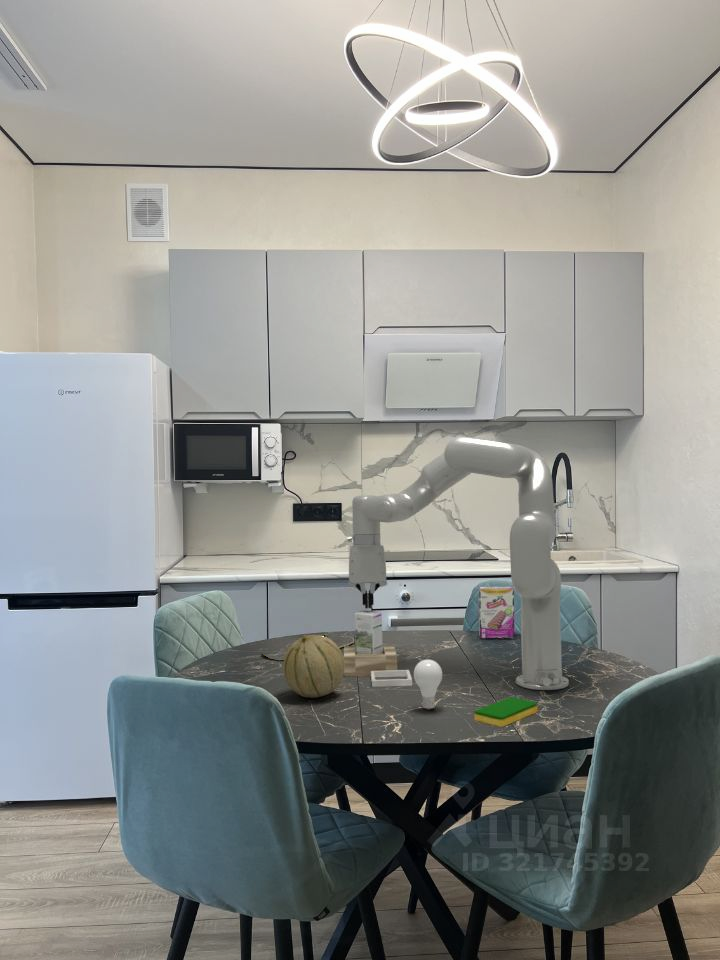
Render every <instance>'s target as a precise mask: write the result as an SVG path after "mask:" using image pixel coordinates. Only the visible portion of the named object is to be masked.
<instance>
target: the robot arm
mask: <svg viewBox="0 0 720 960" xmlns="http://www.w3.org/2000/svg"><path fill="white" fill-rule="evenodd" d="M471 474H476V475H483V476H488V477H489V476H490V477H495V478H500V479H501V478H502V479H515V480H516V481H517V484H518V493H517V496H518V500H517V501H518V517H517V518H515V520H514V521H513V523H512V524H511V526H510V531H509V554H510V555H509V556H510V558H509V559H510V578H511V584H512V586H513V589H514V591H515V592H516V593H517V594H518V595H519V596H521V597H520V633H521V634H520V638H521V639H520V641H521V671H522V672H521V674H519V675H518V676H517V677H516V678H515V682H516V685H518V686H519V687H521V688H524V689H528V690H536V691H538V690H539V691H554V690H555V691H556V690H561V689H562V690H563V689H565V688H568V686H569V684H570V683H569V682H570V681H569V678H567V677H565V676H563V669H562V668H563V666H562V664H563V663H562V662H563V661H562V636H561V635H562V634H561V633H562V632H561V631H562V630H561V590H562V589H561V588H562V576H561V572H560V568H559V565H557V562H555V561H554V559H553V558H552V557H551V556H552V555H551V554H552V552H551V545H553V543H554V542H555V539H556V536H557V529H556V519H555V517H556V516H555V515H556V514H555V500H554V487H553V485H554V484H553V477H552V473H551V470H550V467H549V464H548V462H547V461H546V460H545V459H544V458H543V457H542V456H541V455H540V454H539V453H537V452H536V451H535V450H533V449H530V448H528V447H527V446H525V445H524V446H523V445H521V444H514V443H511V442H510V443H508V442H501V441H495V440H494V441H493V440H487V439H486V440H485V439H479V438H474V437H470V436H464V435H463V436H461V435H460V436H457V437H454V438H452V439H451V440H450V441H449V442H448V443H447V444H446V446H445V447H444V451H443V453H441V454H440V455H439V456H437V457H435V458H434V459H432V460H431V461H429V462H428V463H426V465H424V466H422V469H421V472H420V476H419V477H418V478H417V479H416V480H415V481H414V482H412V483H411V484H410V485H409V486H408V487H406V488H405V489H403V490H402V491H400V492H398V493H391V494H383V495H355V496H354V497H353V499H352V502H351V503H352V505H351V507H352V508H351V509H352V510H351V511H352V512H351V513H352V535H351V536H347V542H350V543H353V544H352V545H351V546H350V548H349V553H348V554H349V556H348V583H347V586H348V587H351V588H355V589H357V590H358V591H359V592H360V593H361V595H362V606H364V608H365V610H366V609H372V606H374V601H375V599H374V594H375V592H376V591H377V590H378V589H379V588H382V587H385V586H388V580H387V563H386V553H385V548H384V545H383V544H381V543H382V542H381V523H387V524H388V523H389V524H390V523H396V522H402V521H405V520H408V519H409V518H412V517H413V516H414V515H416V514H417V513H419V512H420V511H422V510H424V509H425V508H426V507H428V506H429V505H430V504H431V503H433V502H434V501H436V499H438V498H439V497H440V496H441V495H442V494H443V493H445V492H446V491H448V490H449V489H451V488H452V487H454V485H456V484H457V483H459V482H461V481H462V480H463V479H465V478H466V477H468V476H470V475H471ZM365 584H370V585H369V590H368V591H367V589H366V585H365Z"/></svg>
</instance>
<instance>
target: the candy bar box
mask: <svg viewBox="0 0 720 960" xmlns="http://www.w3.org/2000/svg"><path fill="white" fill-rule="evenodd" d="M514 593H515V589H514V587H512V586H478V634H479V635H478V636H480V637H479V639H480V638H496V637H514V638H515V599H514V598H515V595H514Z"/></svg>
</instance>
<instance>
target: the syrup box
mask: <svg viewBox="0 0 720 960" xmlns="http://www.w3.org/2000/svg"><path fill="white" fill-rule="evenodd" d="M354 643H355V645H354V646H356V655H359V654H383V645H384V644H383V614H382V611H381V610H380V611H378V610H376V611H375V610H366V609H365V610H359V611H357V612H355V613H354Z"/></svg>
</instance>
